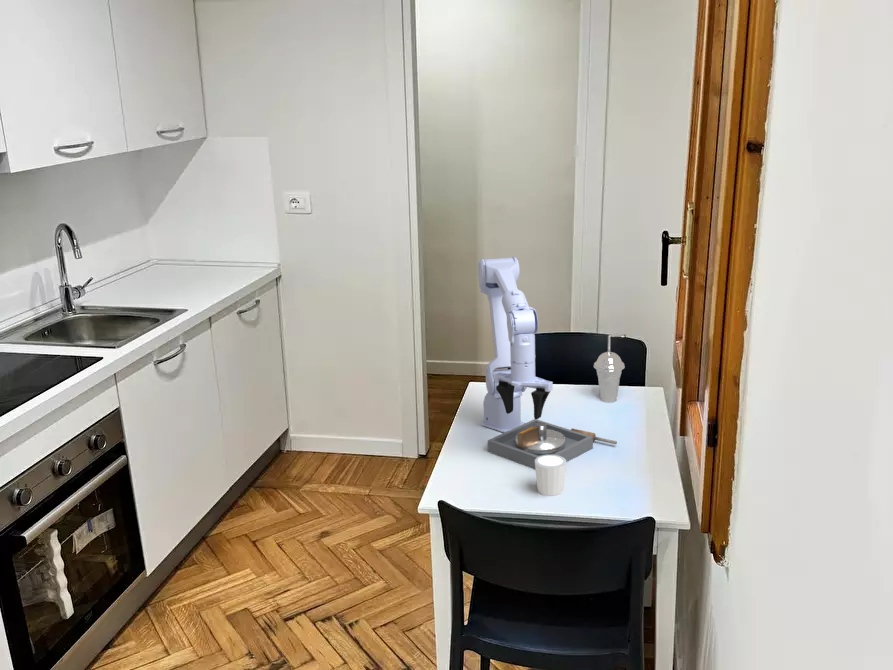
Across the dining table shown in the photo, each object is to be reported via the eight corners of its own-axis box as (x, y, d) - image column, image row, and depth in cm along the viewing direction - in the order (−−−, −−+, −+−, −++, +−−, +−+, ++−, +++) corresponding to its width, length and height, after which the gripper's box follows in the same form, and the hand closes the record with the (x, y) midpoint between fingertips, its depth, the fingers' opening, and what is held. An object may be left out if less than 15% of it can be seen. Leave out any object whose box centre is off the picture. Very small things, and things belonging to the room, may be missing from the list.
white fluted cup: (546, 500, 177) (546, 470, 175) (528, 487, 183) (528, 458, 181) (572, 492, 180) (572, 462, 178) (554, 480, 186) (554, 451, 184)
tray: (487, 451, 202) (487, 440, 201) (535, 429, 214) (535, 418, 213) (546, 472, 189) (546, 460, 189) (592, 448, 202) (592, 436, 201)
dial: (536, 430, 209) (536, 411, 208) (575, 443, 201) (575, 422, 200) (501, 447, 200) (500, 426, 199) (540, 461, 192) (539, 439, 191)
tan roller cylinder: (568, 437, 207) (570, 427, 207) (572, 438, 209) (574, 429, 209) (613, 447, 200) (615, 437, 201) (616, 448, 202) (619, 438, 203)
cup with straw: (615, 392, 238) (616, 325, 232) (630, 403, 230) (632, 333, 224) (588, 396, 236) (588, 328, 230) (602, 407, 227) (603, 337, 222)
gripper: (487, 360, 194) (488, 415, 198) (542, 369, 186) (542, 426, 190) (502, 352, 200) (503, 405, 203) (556, 361, 192) (556, 416, 195)
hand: (523, 415), depth 197 cm, fingers open, 7 cm apart
